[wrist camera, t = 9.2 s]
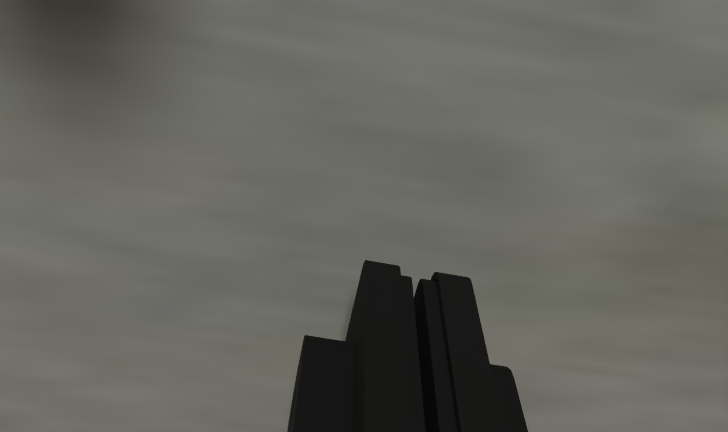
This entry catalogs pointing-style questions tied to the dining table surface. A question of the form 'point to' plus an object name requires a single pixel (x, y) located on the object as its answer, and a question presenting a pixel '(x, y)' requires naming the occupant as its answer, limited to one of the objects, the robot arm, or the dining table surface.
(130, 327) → the dining table surface
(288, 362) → the dining table surface
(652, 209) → the dining table surface
